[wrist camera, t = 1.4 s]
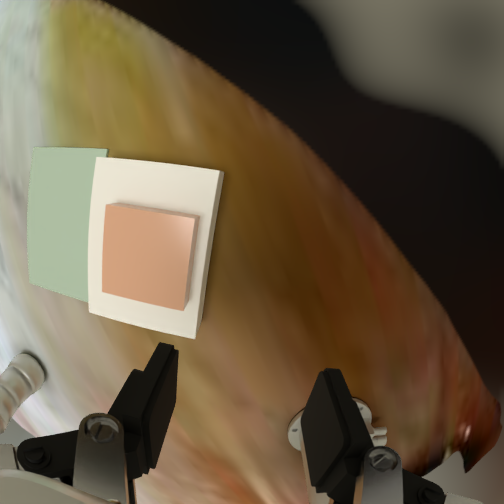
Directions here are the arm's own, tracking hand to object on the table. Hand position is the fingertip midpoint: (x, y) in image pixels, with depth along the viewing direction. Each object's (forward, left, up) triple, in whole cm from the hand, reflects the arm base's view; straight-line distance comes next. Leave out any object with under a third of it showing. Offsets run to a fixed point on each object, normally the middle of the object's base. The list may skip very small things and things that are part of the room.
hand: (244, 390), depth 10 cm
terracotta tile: (+9, 0, -15) cm, 18 cm away
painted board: (+10, 0, -19) cm, 22 cm away
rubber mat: (+23, 0, -19) cm, 30 cm away
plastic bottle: (+32, +25, -20) cm, 45 cm away
